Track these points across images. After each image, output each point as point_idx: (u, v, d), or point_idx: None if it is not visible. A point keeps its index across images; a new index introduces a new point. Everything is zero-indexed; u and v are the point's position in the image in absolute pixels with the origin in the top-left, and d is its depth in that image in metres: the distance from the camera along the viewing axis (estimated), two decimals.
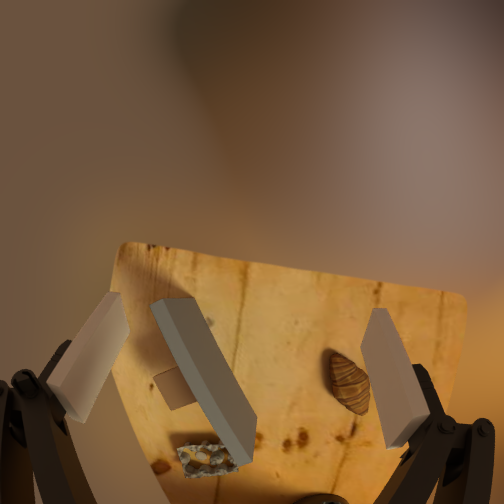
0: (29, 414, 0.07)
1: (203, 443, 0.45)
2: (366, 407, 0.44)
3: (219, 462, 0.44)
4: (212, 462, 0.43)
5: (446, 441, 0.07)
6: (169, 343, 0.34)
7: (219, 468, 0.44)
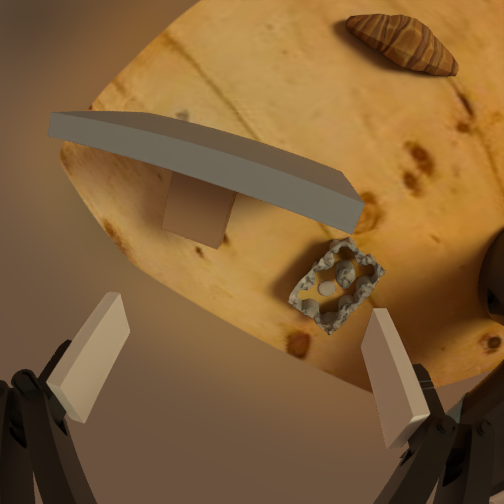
0: (29, 414, 0.07)
1: (313, 267, 0.34)
2: (450, 56, 0.21)
3: (352, 277, 0.32)
4: (343, 284, 0.33)
5: (446, 441, 0.07)
6: (90, 142, 0.18)
7: (359, 287, 0.33)
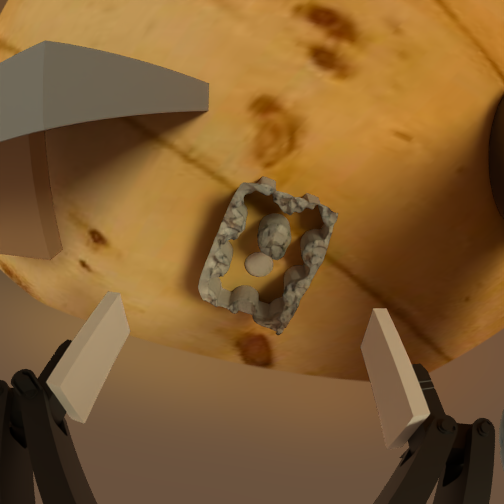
0: (29, 414, 0.07)
1: None
2: None
3: (284, 237, 0.20)
4: (274, 253, 0.20)
5: (446, 441, 0.07)
6: None
7: (303, 250, 0.21)
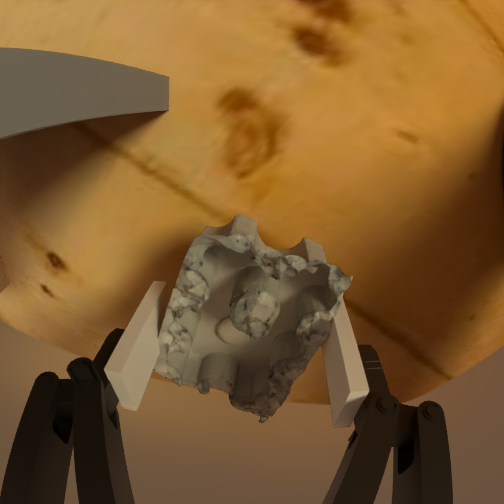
0: (81, 403, 0.08)
1: None
2: None
3: (269, 310, 0.13)
4: (253, 331, 0.13)
5: (389, 420, 0.08)
6: None
7: (297, 325, 0.14)
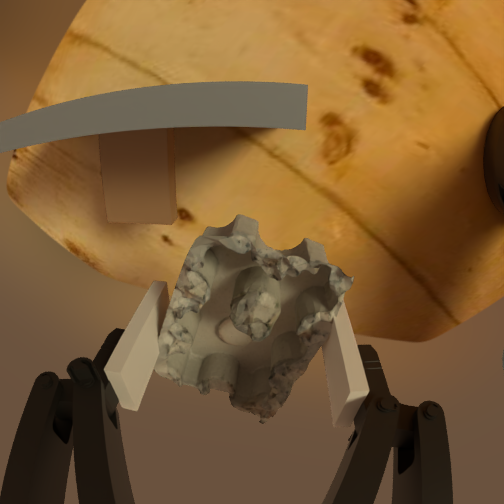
0: (81, 403, 0.08)
1: None
2: None
3: (270, 311, 0.13)
4: (254, 332, 0.13)
5: (389, 419, 0.08)
6: None
7: (298, 326, 0.14)
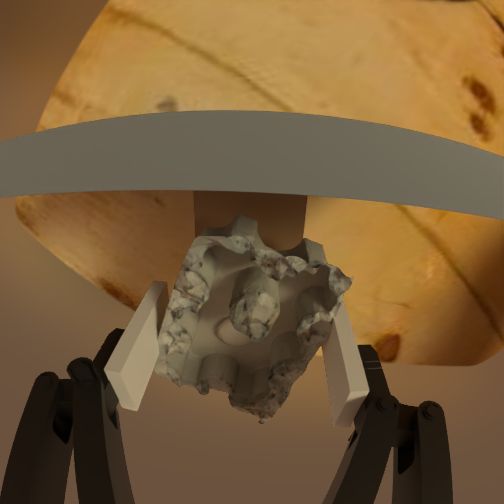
0: (81, 403, 0.08)
1: None
2: None
3: (269, 311, 0.13)
4: (253, 332, 0.13)
5: (389, 420, 0.08)
6: (28, 186, 0.07)
7: (297, 326, 0.14)
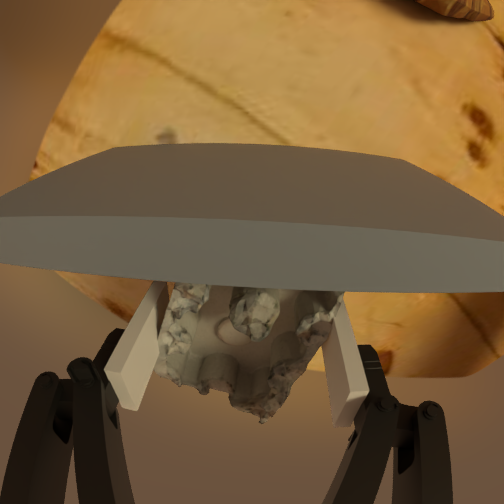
0: (81, 403, 0.08)
1: None
2: None
3: (269, 311, 0.13)
4: (253, 332, 0.13)
5: (389, 419, 0.08)
6: (42, 261, 0.09)
7: (297, 326, 0.14)
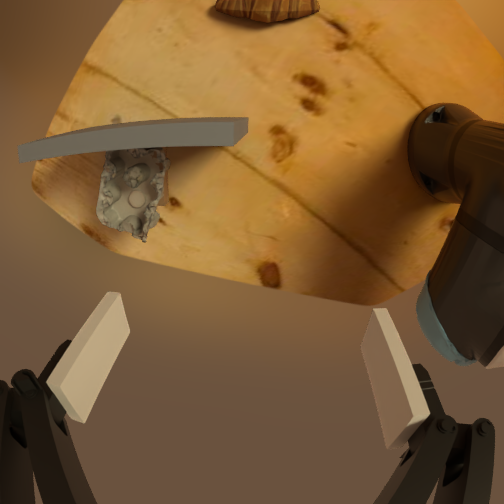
0: (29, 414, 0.07)
1: (110, 182, 0.32)
2: None
3: (137, 174, 0.30)
4: (132, 184, 0.30)
5: (446, 441, 0.07)
6: (50, 154, 0.24)
7: (151, 181, 0.30)
